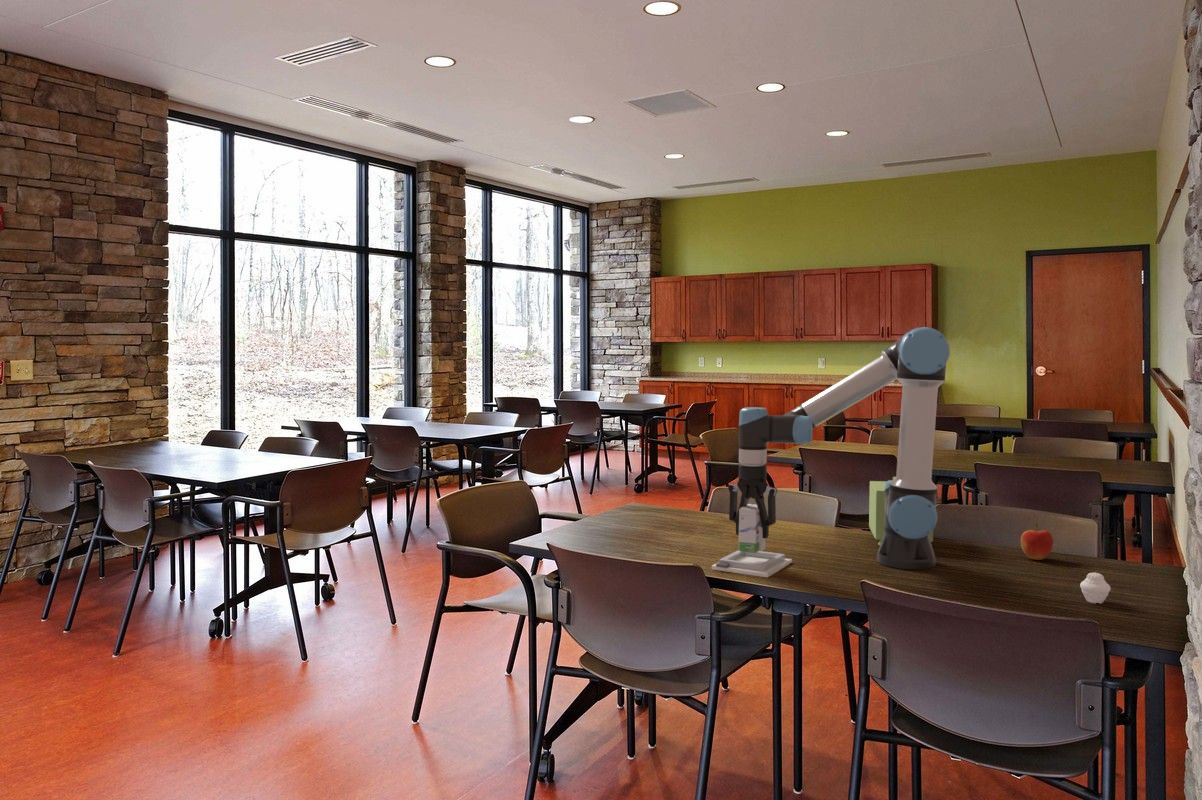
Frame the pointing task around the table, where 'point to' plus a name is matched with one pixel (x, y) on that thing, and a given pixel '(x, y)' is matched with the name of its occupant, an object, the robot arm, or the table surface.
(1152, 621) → the table surface
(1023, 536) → the apple
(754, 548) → the ink box
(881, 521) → the container
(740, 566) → the white square tray
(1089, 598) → the muffin
